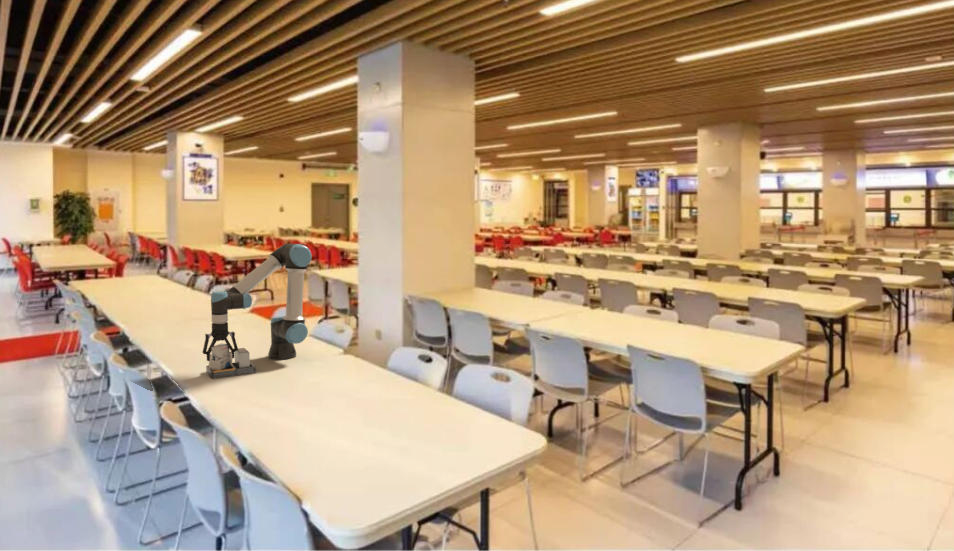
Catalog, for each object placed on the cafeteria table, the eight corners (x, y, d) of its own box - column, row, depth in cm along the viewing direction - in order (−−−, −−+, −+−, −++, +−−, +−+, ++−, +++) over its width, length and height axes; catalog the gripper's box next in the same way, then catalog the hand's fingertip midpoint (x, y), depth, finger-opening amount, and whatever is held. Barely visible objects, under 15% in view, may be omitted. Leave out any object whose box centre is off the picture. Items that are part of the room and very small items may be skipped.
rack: (249, 366, 319) (248, 346, 318) (255, 373, 307) (255, 351, 306) (206, 371, 308) (205, 350, 306) (211, 379, 295) (210, 356, 294)
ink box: (221, 365, 309) (221, 343, 308) (230, 366, 308) (230, 343, 307) (211, 369, 301) (210, 346, 299) (220, 370, 300) (219, 347, 298)
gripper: (240, 319, 311) (241, 361, 313) (194, 322, 299) (196, 366, 301) (244, 321, 305) (245, 364, 307) (197, 325, 293) (198, 370, 295)
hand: (220, 365), depth 304 cm, fingers closed on ink box, 9 cm apart
